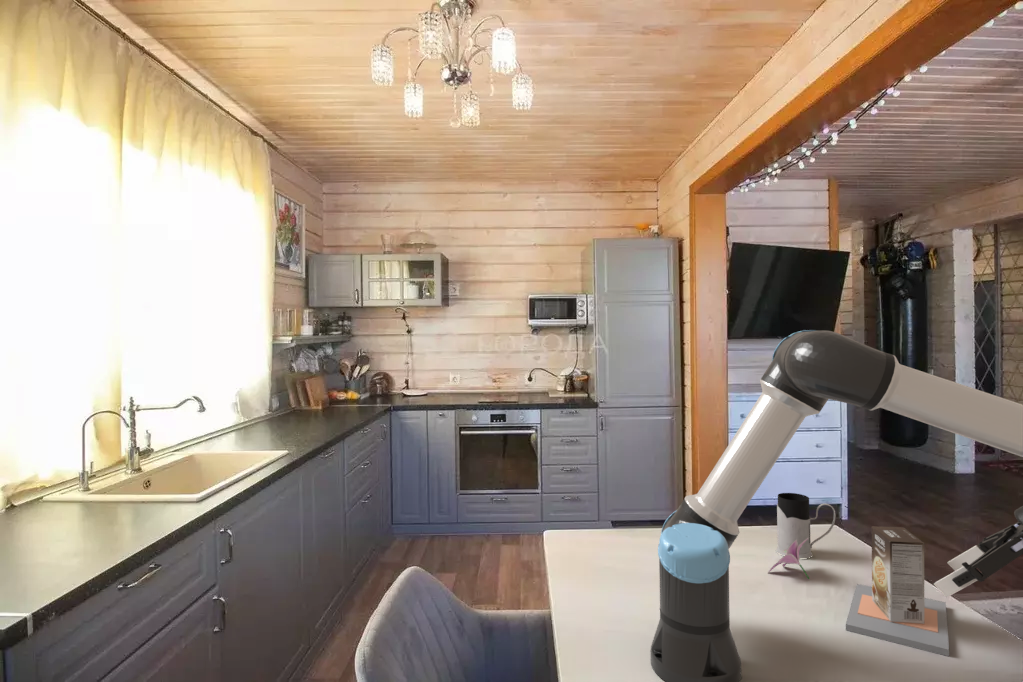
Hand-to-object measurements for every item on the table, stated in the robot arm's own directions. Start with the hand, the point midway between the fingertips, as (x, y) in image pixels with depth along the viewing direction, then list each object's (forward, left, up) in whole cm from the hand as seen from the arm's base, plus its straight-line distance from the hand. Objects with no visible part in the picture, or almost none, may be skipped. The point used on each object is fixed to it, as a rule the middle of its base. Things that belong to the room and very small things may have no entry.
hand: (947, 579), depth 109 cm
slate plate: (+1, +8, -10) cm, 13 cm away
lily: (+13, +30, -11) cm, 34 cm away
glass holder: (+28, +29, -11) cm, 42 cm away
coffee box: (+1, +8, -9) cm, 12 cm away
